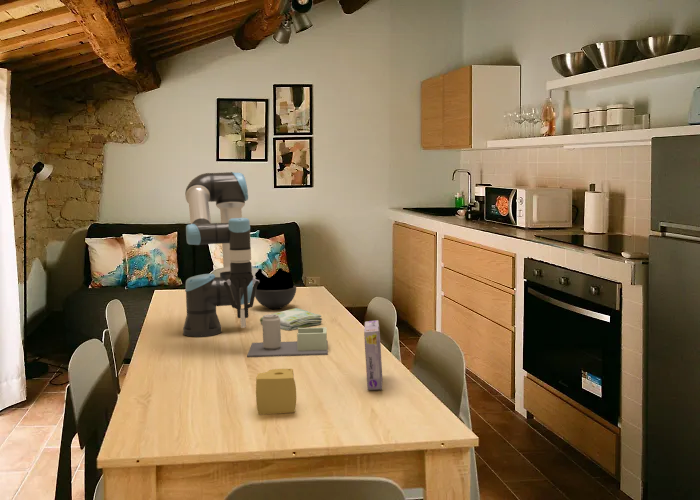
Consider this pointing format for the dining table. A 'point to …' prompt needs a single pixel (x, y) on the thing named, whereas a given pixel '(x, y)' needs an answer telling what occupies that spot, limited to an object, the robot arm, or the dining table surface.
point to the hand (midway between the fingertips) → (243, 326)
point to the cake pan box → (373, 355)
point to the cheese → (276, 392)
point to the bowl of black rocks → (275, 289)
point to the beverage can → (271, 331)
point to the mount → (296, 345)
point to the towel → (297, 319)
